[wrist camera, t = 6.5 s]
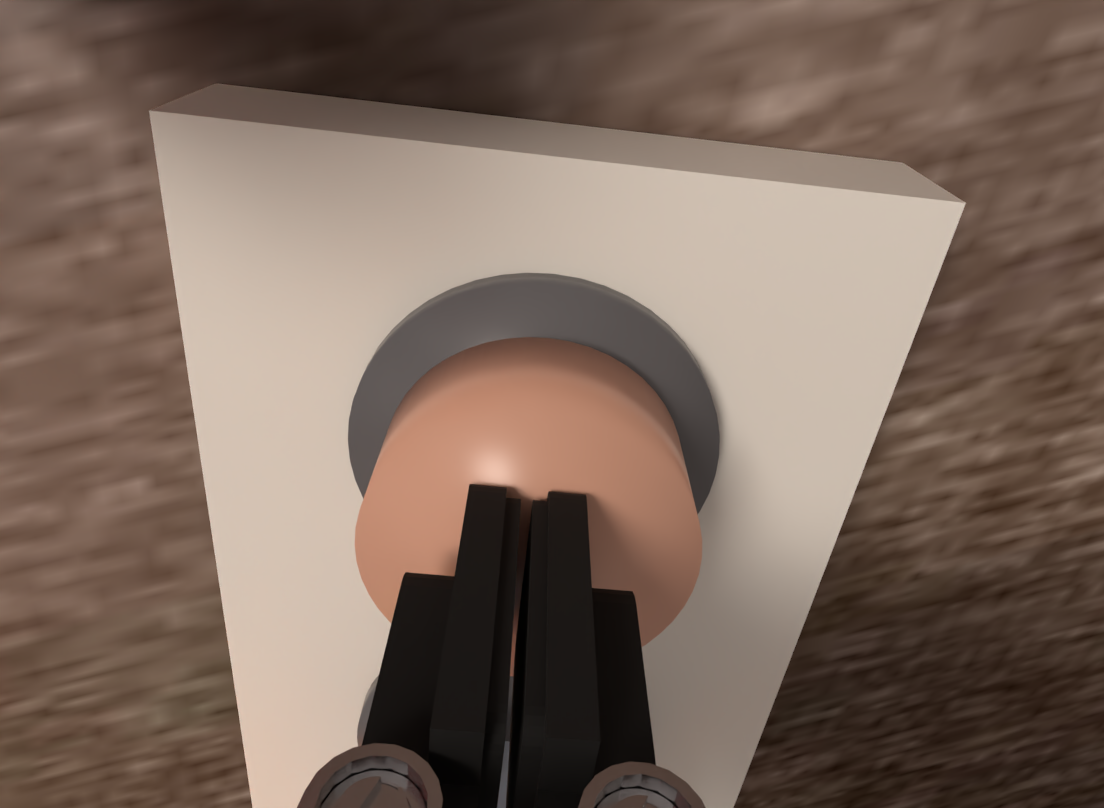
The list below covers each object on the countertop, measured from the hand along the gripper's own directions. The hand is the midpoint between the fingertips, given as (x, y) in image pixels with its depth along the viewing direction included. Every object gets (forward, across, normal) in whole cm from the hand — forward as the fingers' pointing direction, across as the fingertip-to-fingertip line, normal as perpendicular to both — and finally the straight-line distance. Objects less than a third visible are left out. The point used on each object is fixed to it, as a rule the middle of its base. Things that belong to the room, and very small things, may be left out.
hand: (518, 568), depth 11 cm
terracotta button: (+2, 0, 0) cm, 2 cm away
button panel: (+6, 0, +8) cm, 10 cm away
